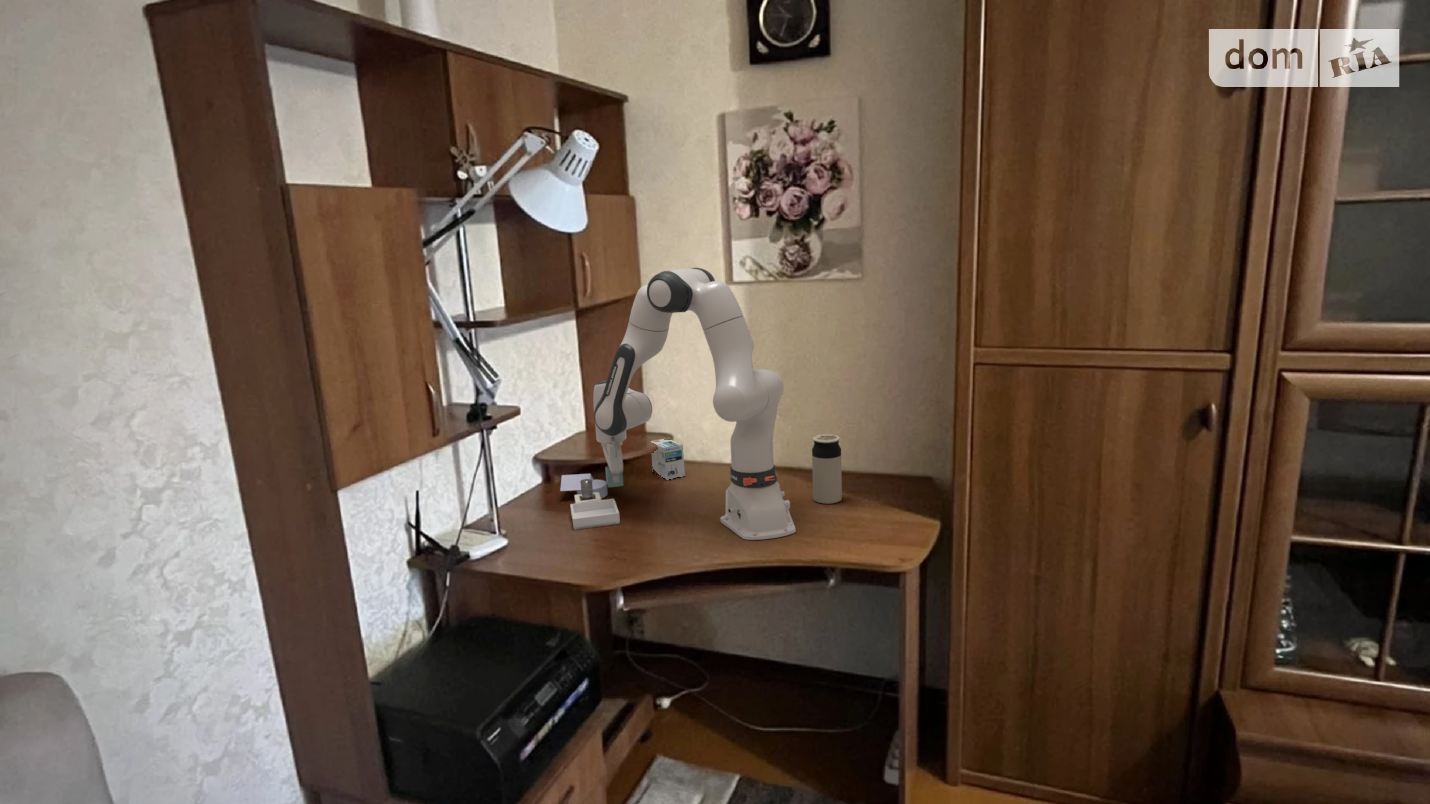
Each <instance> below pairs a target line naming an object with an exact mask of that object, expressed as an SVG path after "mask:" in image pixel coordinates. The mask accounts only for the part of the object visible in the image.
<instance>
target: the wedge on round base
mask: <svg viewBox="0 0 1430 804" xmlns="http://www.w3.org/2000/svg"><path fill="white" fill-rule="evenodd" d="M583 479H591V480H592V488H593V493H595V492H599V494H600V498H601V499H603V498H605V497H606V496H608V494H609V493H608V486H607V481H606V480H603V479H594V477H593V475H592V473H579V474H562V475H561V481H560V490H559V491H560V492H566V491H567V492H568V491H576V495H579V494H582V493H581V483H580V481H581V480H583Z"/></svg>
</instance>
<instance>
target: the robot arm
mask: <svg viewBox="0 0 1430 804" xmlns="http://www.w3.org/2000/svg"><path fill="white" fill-rule="evenodd" d="M688 311H691V312H693V313H694V314H695V315H696V316H697V318H698V319H699V323H700V325H701V329H702V331H703V334H704V337H705V339H706V343H707V345H708V349H709V351H710V354H711V356H712V361H713V365H714V366H713V367H714V373H715V391H714V394H713V398H712V404H713V405H712V406H713V408H714V411H715V413H716V414H717V416H719V418H721V419H722V420H723V421H725V422H728V423H729V422H730V423H733V422H734V423H735V422H736V423H735V425H734V426H735V427H734V429H733V431H732V434H731V437H730V461H731V466H730V469H729V476H730V477H729V478H730V479H729V480H730V485H729V486H728V487H727V489H726V490H725V514H724V515H722V516H720V517H719V519H720V520H719V521H720V523H721V524H722V525H723V526H725V527H727V528H728V529H729V530H731V531H732V532H733V533H735V535H737V536H739V537H740V538H741V539H743V540H748V541H749V540H751V541H756V540H761V541H762V540H769V539H776V538H777V539H778V538H783V537H785V536H790V535H792V534H794V533H796V532H797V530H796V525H795V523H794V520H793V518H792V515H791V512H790V509H791V502H790V500H789V499H784V498H783V497H785V496H786V495H785V491H784V490H783V491H781V488H780V483H779V482H778V477H777V470H776V465H775V463H774V432H775V425H776V420H777V414H778V409H779V404H780V401H781V399H782V397H783V395H784V391H785V389H784V388H785V387H784V386H785V385H784V382H783V380H782V378H781V376H780V375H779V374H778V373H777V372H776V371H774V370H771V369H768V368H767V369H766V368H763V369H762V368H761V369H760V368H758V369H754V365H753V352H754V347H755V346H754V341H753V339H752V336H751V333H750V330H749V326H748V325H747V322H746V319H745V317H744V313H743V311H742V308H741V306H740V303H739V302H738V300H737V298H736V295H735V294H734V293H733V291H732V289H731V287H730V286H729V285H728V284H727V283H726V282H724V281H721V280H720V281H719V280H716V279H715V277H714V276H713V275H712V273H711V272H709V270H706V269H704V268H700V267H691V268H690V267H688V268H684V267H683V268H682V267H680V268H673V269H670V270H663V271H660V272H659V273H657V274H654V276H652V277H651V279H649V282H648V283H647V284H643V285H642V286H641V287H640V288H638V291H637V293H636V295H635V297H634V300H633V304H632V307H631V309H630V315H629V319H628V323H627V328H626V330H625V331H626V332H625V334H624V336H623V339H622V341H621V344H620V345H619V347H618V348H617V351H616V352H615V354H614V357H613V360H612V362H611V366H610V368H609V373H608V375H607V379H606V380H603V381H598V382H597V383H596V384H594V387H593V396H592V397H593V401H592V402H593V412H594V414H593V419H594V423H595V424H594V427H595V436H596V437H595V438H596V441H597V442H598V443H600V446H601V447H602V450H603V454H604V458H605V461H606V463H607V467H609V468H610V471H611V473H612V480H613V482H614V483H616V482H619V473H620V472H622V473H624V462H623V461H624V460H623V451H622V447H621V446H622V445H623V443H624V441H626V440H627V431H628V430H630V429H633V428H635V427H637V426H640V425H642V424H644V423H646V422H648V421H650V419H651V418H652V414H653V405H652V402H651V399H650V398H649V397H648V395H646V394H645V393H643V392H641V391H636V390H634V389H631V388H630V383H631V380H632V378H633V376H634V374H635V373H636V371H637V370H638V369H639V368H640V367H641V366H643V365H644V364H645V363H647V361H649V360H651V359H653V357H655V356H657V355H658V354H659V353H660V352H662V350H663V348H664V346H665V344H666V343H667V342H666V341H667V338H668V335H669V331H670V330H669V329H670V323H671V319H672V316H673V314H674V313H675V314H676V313H686V312H688Z"/></svg>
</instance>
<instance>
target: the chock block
mask: <svg viewBox="0 0 1430 804" xmlns="http://www.w3.org/2000/svg"><path fill="white" fill-rule="evenodd" d="M623 477H624V475H623V472H620V473H619V482H616V483H614V482H613V480H612V473H611V471H610V468H609V466H605V481H606V482H607V488H615V487H623V486H624V478H623Z"/></svg>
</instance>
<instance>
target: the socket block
mask: <svg viewBox="0 0 1430 804" xmlns="http://www.w3.org/2000/svg"><path fill="white" fill-rule="evenodd" d="M599 500H602V498H600V494H599V492H595V493H593V499H591V500H583V501H582V494H579V495H577V494H574V504H576V503H583V502H591V501H599Z"/></svg>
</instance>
